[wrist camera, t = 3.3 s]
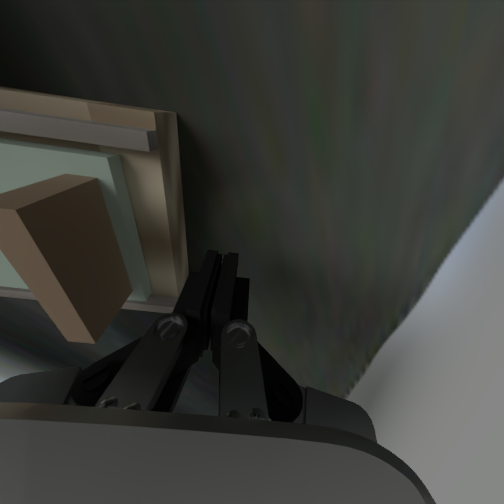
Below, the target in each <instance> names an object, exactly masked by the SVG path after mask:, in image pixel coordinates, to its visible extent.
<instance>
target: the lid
mask: <svg viewBox="0 0 504 504" xmlns="http://www.w3.org/2000/svg"><path fill="white" fill-rule="evenodd" d="M0 286H3V287H12V288H22V289H30V291H31V292H32V293H33V295H34V296H35V297H36V299H37V300H38V301H39V303H40V304H41V306H42V307H43V308H44V310H45V311H46V312H47V314H48V315H49V316H50V318H51V319H52V320H53V322H54V323H55V324H56V326H57V327H58V329H59V330H60V331H61V333H62V334H63V335H64V337H65V338H66V339H67V341H72V342H83V343H94V344H96V342H97V341H98V340H99V338H100V337H101V335H102V334H103V333H104V331H105V330H106V328H107V327H108V326H109V324H110V323H111V321H112V320H113V319H114V317H115V316H116V314H117V313H118V311H119V310H120V309H121V307H122V306H123V304H124V303H125V302H126V300H127V299H128V300H138V301H147V299H148V297H149V296H150V294H151V292H152V290H151V286H150V281H149V277H148V273H147V269H146V265H145V260H144V256H143V252H142V248H141V243H140V239H139V235H138V231H137V227H136V222H135V218H134V214H133V210H132V206H131V201H130V197H129V193H128V189H127V185H126V180H125V176H124V172H123V168H122V164H121V159H120V155H119V154H114V153H107V152H99V151H92V150H85V149H78V148H71V147H63V146H56V145H49V144H42V143H34V142H27V141H20V140H13V139H5V138H0Z"/></svg>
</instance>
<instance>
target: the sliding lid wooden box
mask: <svg viewBox="0 0 504 504" xmlns="http://www.w3.org/2000/svg"><path fill="white" fill-rule="evenodd" d="M0 138H5V139H13V140H20V141H27V142H34V143H42V144H49V145H56V146H63V147H71V148H78V149H85V150H92V151H99V152H107V153H114V154H119V155H120V159H121V164H122V168H123V172H124V176H125V180H126V185H127V189H128V193H129V197H130V201H131V206H132V210H133V214H134V218H135V222H136V227H137V231H138V235H139V239H140V243H141V248H142V252H143V256H144V260H145V265H146V269H147V273H148V277H149V281H150V286H151V290H152V292H151V294H150V296H149V297H148V299H147V301H138V300H128V299H127V300H126V302H125V303H124V304H123V306H122V307H121V308H122V309H132V310H142V311H152V312H162V313H172V312H173V310H174V307H175V305H176V303H177V300H178V298H179V296H180V294H181V291H182V289H183V287H184V284H185V282H186V280H187V278H188V275H189V268H188V256H187V243H186V230H185V217H184V205H183V192H182V179H181V166H180V154H179V141H178V128H177V115H176V113H175V112H169V111H162V110H155V109H149V108H142V107H135V106H129V105H122V104H115V103H109V102H102V101H95V100H89V99H82V98H75V97H69V96H62V95H55V94H49V93H42V92H35V91H29V90H22V89H15V88H9V87H2V86H0ZM0 296H4V297H14V298H24V299H33V300H37V299H36V297H35V296H34V295H33V293H32V292H31V291H30V289H22V288H12V287H3V286H0Z"/></svg>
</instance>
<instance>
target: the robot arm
mask: <svg viewBox="0 0 504 504" xmlns="http://www.w3.org/2000/svg"><path fill="white" fill-rule="evenodd" d="M238 255H239V254H238V253H230V252H229V254H228V255H224V259H223V263H222V254H218V251H212V250H208V251H207V254H206V257H205V259H204V262H203V265H202V267H201V270H200V273H195V272H190V273H189V275H188V278H187V280H186V282H185V284H184V287H183V289H182V291H181V294H180V296H179V298H178V300H177V303H176V305H175V307H174V310H173V312H172V313H167V314H164V315H162V316H160V317H158V318H157V319H156V320H155V321H154V322H153V323H152V324H151V326H150V327H149V328H148V330H147V331H146V333H145V334H144V336H142V337H141V338H139V339H137V340H135V341H133V342H131V343H130V344H128V345H126V346H124V347H122V348H121V349H119V350H117V351H115V352H113V353H112V354H110V355H108V356H106V357H104V358H102V359H101V360H99V361H97V362H95V363H93V364H92V365H90V366H89V367H87V368H81V367H80V366H79V367H72V368H65V369H58V370H51V371H44V372H37V373H29V374H22V375H18V376H14V377H11V378H9V379H7V380H5V381H3V382H1V383H0V504H436V503H435V501H434V499H433V498H432V496H431V494H430V493H429V491H428V490H427V488H426V486H425V485H424V484H423V482H422V481H421V480H420V478H419V477H418V476H417V474H416V473H415V472H414V471H413V470H412V469H411V468H410V467H409V466H408V465H407V464H406V463H405V462H404V461H402V460H401V459H400V458H398V457H397V456H396V455H395V454H393V453H392V452H390V451H389V450H387V449H385V448H384V447H382V446H381V445H379V444H378V443H377V440H376V435H375V429H374V426H373V424H372V420H371V419H370V417H369V416H368V414H367V412H366V411H365V410H364V409H363V408H362V407H361V406H359V405H357V404H356V403H354V402H351V401H348V400H345V399H343V398H340V397H337V396H334V395H331V394H328V393H326V392H323V391H320V390H317V389H314V388H312V387H309V386H307V387H306V388H305V387H302V386H300V385H298V384H297V383H296V382H295V380H294V379H293V378H292V377H291V376H290V375H289V374H288V373H287V372H286V371H285V370H284V369H283V368H282V367H281V366H280V365H279V364H278V363H277V362H276V360H275V359H274V358H273V357H272V356H271V355H270V354H269V353H268V352H267V351H266V350H265V349H264V348H263V347H262V346H261V345H260V344H259V343H258V341H257V335H256V331H255V329H254V327H253V326H252V325H251V324H250V323H249V322H247V317H248V299H249V281H250V279H249V278H240V277H236V275H237V265H238ZM221 265H222V268H221ZM210 337H211V351H213V352H212V362H213V363H214V365H215V366H216V367H217V369H218V370H219V411H218V416H207V415H194V414H182V413H173V410H174V408H175V406H176V403H177V401H178V398H179V396H180V394H181V391H182V389H183V386H184V384H185V382H186V379H187V377H188V374H189V372H190V369H191V365H193V364H194V363H195V362H197V361H198V359H199V356H200V357H202V354H203V350H208V346H209V341H210Z"/></svg>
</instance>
